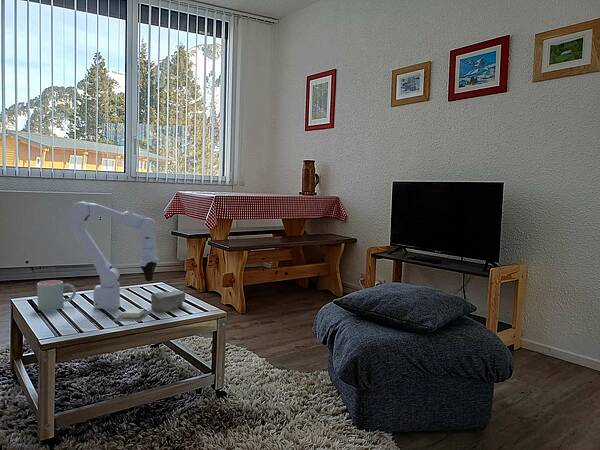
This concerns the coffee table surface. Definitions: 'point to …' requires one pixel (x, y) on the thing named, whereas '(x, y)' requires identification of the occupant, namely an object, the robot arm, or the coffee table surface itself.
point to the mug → (52, 294)
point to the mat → (133, 318)
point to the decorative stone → (167, 300)
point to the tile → (133, 313)
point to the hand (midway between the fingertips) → (149, 280)
